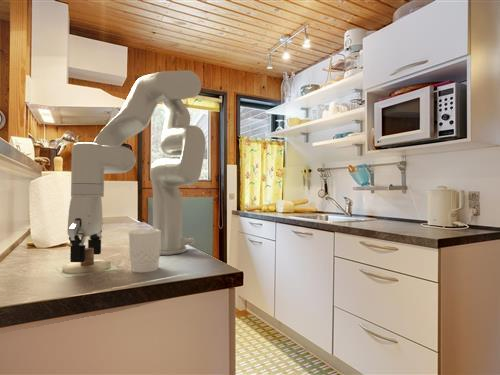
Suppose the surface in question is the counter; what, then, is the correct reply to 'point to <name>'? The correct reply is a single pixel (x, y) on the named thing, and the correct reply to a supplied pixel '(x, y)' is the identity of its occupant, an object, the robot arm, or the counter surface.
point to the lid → (86, 264)
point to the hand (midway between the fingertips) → (86, 257)
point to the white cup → (144, 250)
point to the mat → (85, 273)
